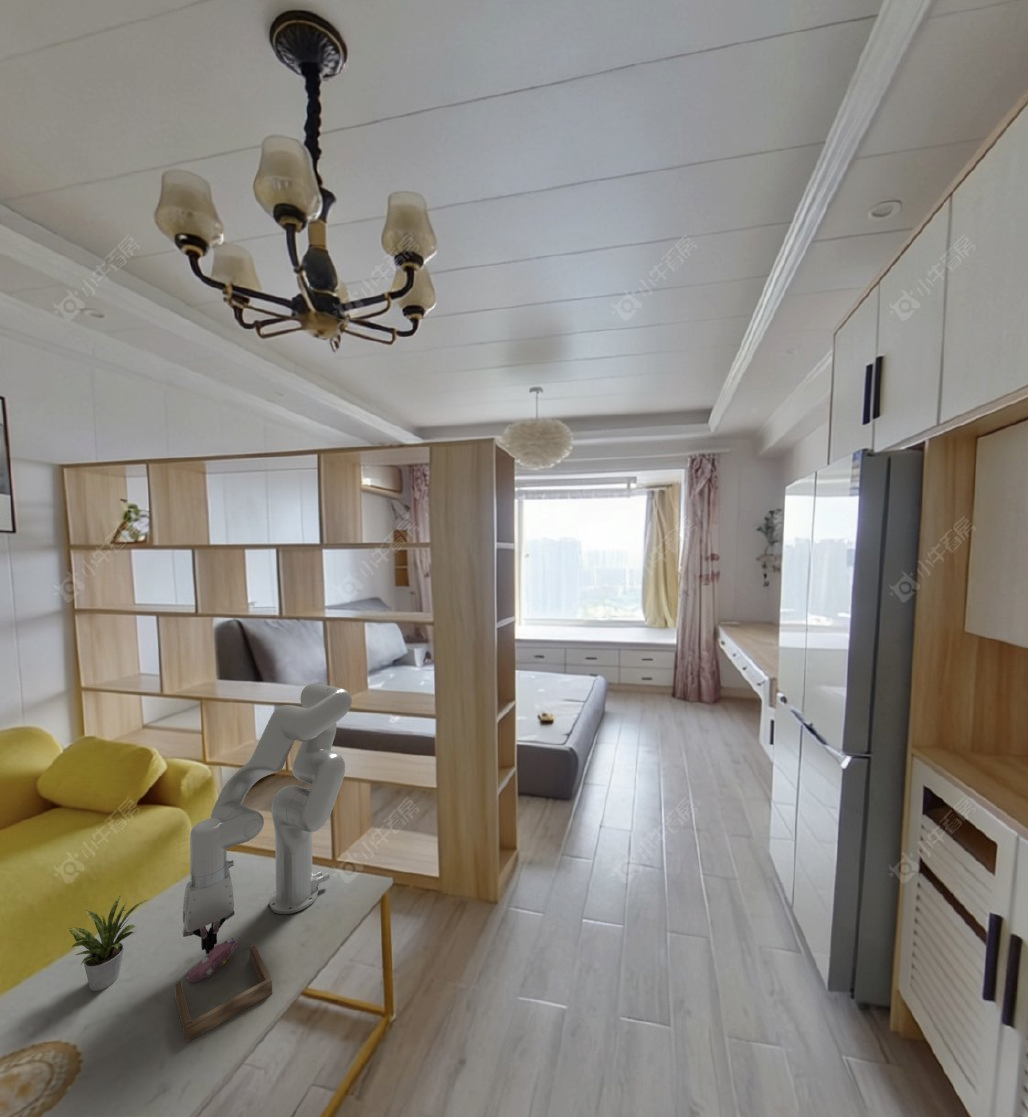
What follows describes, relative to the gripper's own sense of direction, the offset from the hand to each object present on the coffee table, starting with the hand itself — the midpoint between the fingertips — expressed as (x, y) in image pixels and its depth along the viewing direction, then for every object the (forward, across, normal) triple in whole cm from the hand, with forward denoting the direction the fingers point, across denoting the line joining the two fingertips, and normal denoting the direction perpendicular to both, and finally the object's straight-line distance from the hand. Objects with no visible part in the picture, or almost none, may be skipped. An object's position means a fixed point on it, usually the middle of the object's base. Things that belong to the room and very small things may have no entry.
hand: (209, 949), depth 118 cm
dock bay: (+2, 0, +13) cm, 13 cm away
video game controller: (+2, 0, +4) cm, 5 cm away
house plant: (+3, +18, -10) cm, 21 cm away
